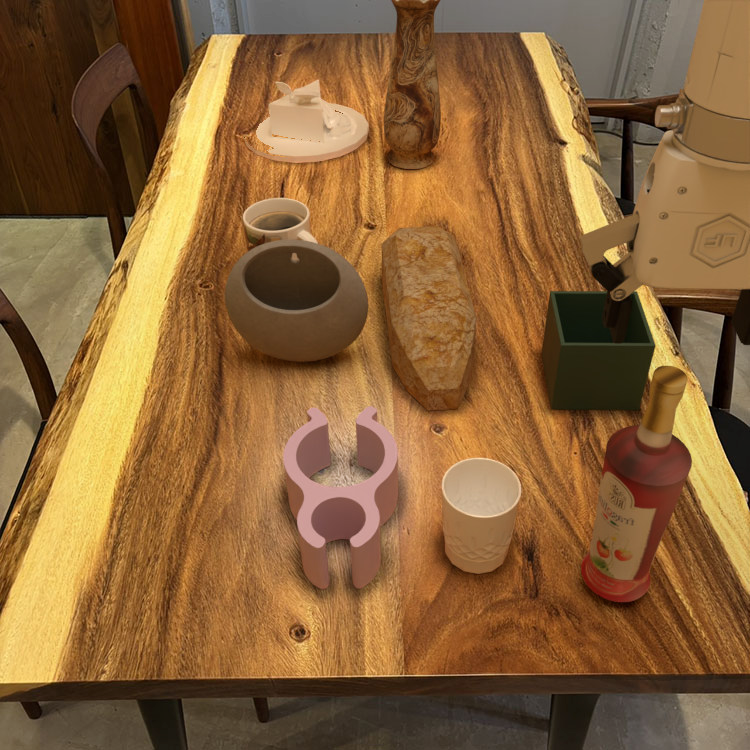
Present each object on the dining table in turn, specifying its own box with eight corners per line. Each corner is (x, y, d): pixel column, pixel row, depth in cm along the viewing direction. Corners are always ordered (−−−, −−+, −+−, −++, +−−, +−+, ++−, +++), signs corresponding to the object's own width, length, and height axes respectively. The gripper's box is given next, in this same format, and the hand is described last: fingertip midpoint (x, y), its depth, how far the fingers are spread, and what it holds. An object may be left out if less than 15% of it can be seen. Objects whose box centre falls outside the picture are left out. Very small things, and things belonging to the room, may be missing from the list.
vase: (373, 157, 159) (368, -10, 139) (414, 140, 164) (416, -23, 144) (410, 177, 153) (411, 5, 133) (452, 158, 158) (459, -10, 138)
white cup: (450, 585, 86) (454, 523, 80) (430, 526, 92) (432, 464, 86) (523, 571, 87) (532, 509, 81) (499, 513, 93) (506, 451, 87)
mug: (313, 254, 134) (308, 192, 127) (327, 297, 125) (323, 233, 118) (247, 264, 132) (238, 202, 125) (257, 308, 123) (248, 244, 116)
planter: (230, 375, 112) (209, 256, 100) (239, 342, 117) (220, 225, 105) (368, 377, 111) (364, 257, 99) (371, 343, 117) (367, 226, 104)
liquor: (665, 589, 85) (737, 385, 67) (612, 623, 82) (672, 419, 64) (614, 541, 90) (668, 337, 72) (562, 571, 87) (604, 367, 69)
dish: (347, 168, 155) (344, 110, 148) (223, 154, 161) (214, 97, 154) (383, 114, 173) (382, 59, 166) (270, 103, 179) (264, 49, 171)
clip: (401, 587, 86) (401, 546, 82) (280, 590, 86) (273, 548, 82) (396, 447, 101) (396, 405, 97) (293, 449, 101) (288, 408, 97)
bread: (378, 257, 133) (377, 201, 126) (447, 253, 133) (449, 197, 127) (398, 412, 106) (397, 351, 99) (484, 407, 106) (489, 346, 100)
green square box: (639, 410, 105) (655, 345, 98) (550, 409, 106) (561, 345, 99) (623, 354, 113) (637, 291, 107) (541, 354, 114) (550, 290, 107)
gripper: (611, 149, 51) (572, 363, 63) (900, 151, 51) (808, 366, 62) (592, 99, 57) (559, 303, 68) (852, 100, 56) (775, 306, 68)
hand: (677, 333), depth 65 cm, fingers open, 9 cm apart
